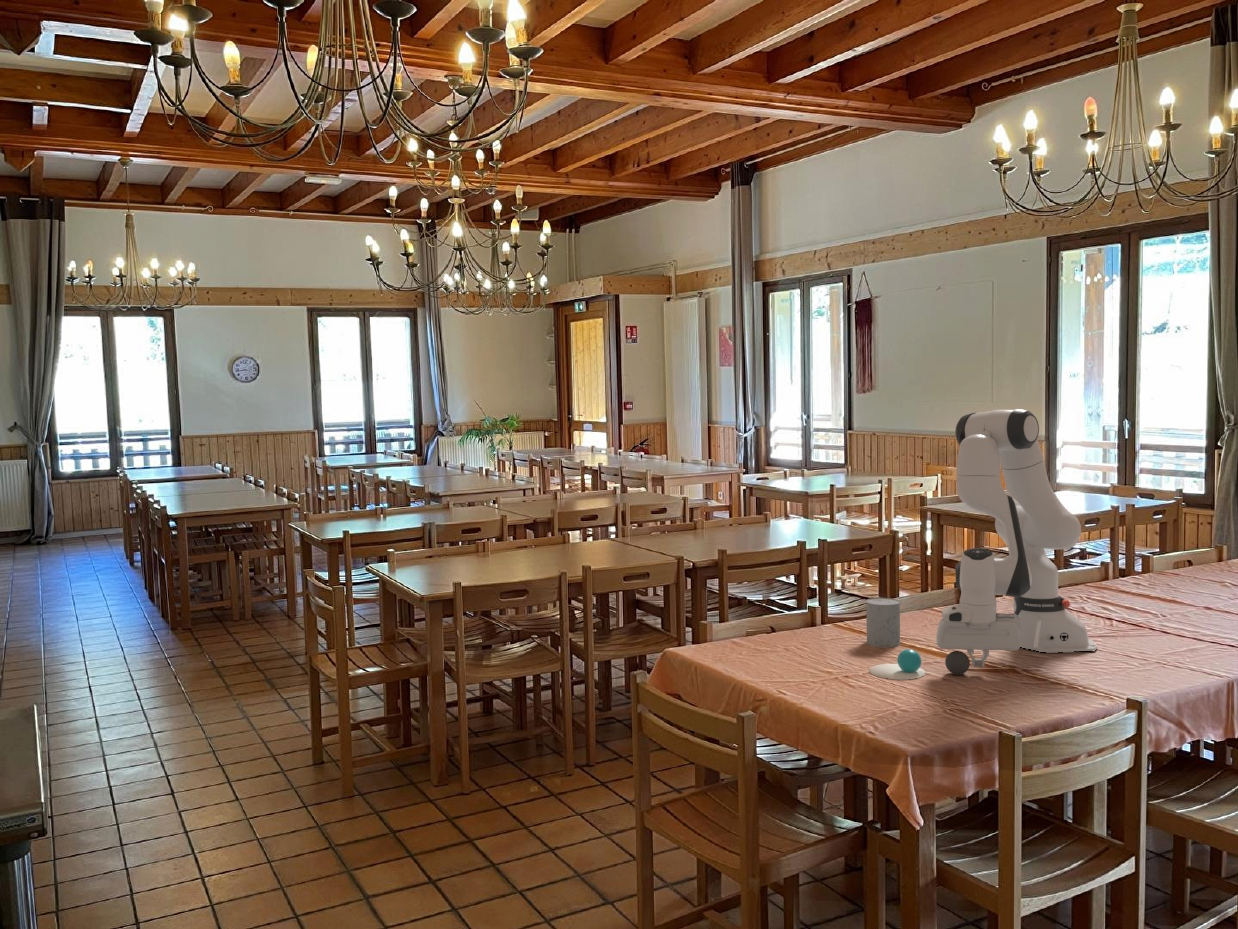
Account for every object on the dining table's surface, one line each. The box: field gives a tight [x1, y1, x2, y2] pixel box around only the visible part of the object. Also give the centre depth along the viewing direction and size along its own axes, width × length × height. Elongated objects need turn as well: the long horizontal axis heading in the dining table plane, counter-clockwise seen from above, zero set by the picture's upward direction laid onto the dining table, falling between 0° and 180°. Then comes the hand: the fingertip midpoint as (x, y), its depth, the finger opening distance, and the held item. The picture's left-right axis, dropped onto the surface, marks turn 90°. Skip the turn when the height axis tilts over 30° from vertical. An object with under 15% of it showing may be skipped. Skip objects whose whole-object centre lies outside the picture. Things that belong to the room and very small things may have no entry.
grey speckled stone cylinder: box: [865, 597, 901, 649], centre depth 289 cm, size 10×10×12 cm
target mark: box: [869, 663, 926, 681], centre depth 260 cm, size 14×14×1 cm
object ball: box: [896, 648, 922, 673], centre depth 260 cm, size 6×6×6 cm
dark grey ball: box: [944, 650, 971, 676], centre depth 257 cm, size 6×6×6 cm
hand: (978, 666), depth 256 cm, fingers closed
